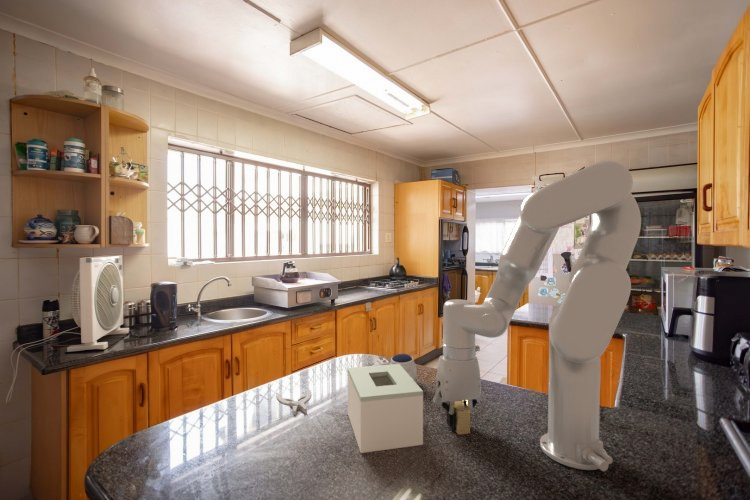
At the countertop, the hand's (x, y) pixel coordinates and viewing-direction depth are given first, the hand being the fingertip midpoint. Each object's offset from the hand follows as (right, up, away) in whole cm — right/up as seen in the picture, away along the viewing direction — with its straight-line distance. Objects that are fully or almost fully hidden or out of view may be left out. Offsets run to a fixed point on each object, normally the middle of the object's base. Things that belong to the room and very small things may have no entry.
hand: (458, 426), depth 87 cm
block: (0, 0, 0) cm, 0 cm away
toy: (-17, 0, +24) cm, 29 cm away
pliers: (-42, 0, +14) cm, 44 cm away
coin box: (-18, 0, 0) cm, 18 cm away
